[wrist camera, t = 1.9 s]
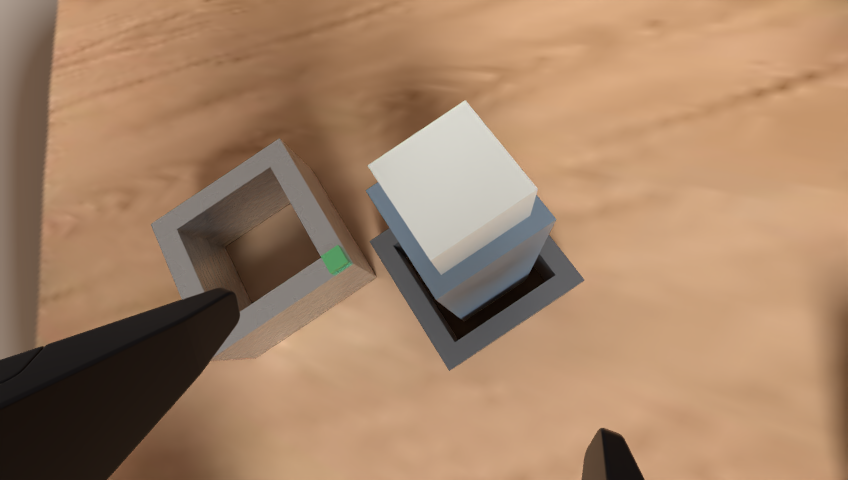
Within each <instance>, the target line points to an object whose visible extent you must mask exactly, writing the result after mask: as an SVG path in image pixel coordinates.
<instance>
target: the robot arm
mask: <svg viewBox="0 0 848 480" xmlns="http://www.w3.org/2000/svg"><path fill="white" fill-rule="evenodd" d="M239 319H240V311H239V306H238V301H237V296H236V294H235V292H233V291H231V290H228V289H225V288H221V287H219V288H215V289H212V290H209V291H206V292H203V293H200V294H197V295H194V296H191V297H188V298H185V299H182V300H179V301H176V302H173V303H170V304H167V305H164V306H161V307H158V308H155V309H152V310H149V311H146V312H143V313H140V314H137V315H134V316H131V317H128V318H125V319H122V320H119V321H116V322H113V323H110V324H107V325H104V326H101V327H98V328H95V329H92V330H89V331H86V332H83V333H80V334H77V335H74V336H71V337H68V338H65V339H62V340H59V341H56V342H53V343H50V344H48V345H46V346H45V347H44V346H41V347H38V348H35V349H32V350H30V351H26V352H24V353H20V354H17V355H14V356H11V357H8V358H5V359H2V360H0V480H107V479H108V478H109V477H110V476H111V475H112V474H113V472H114V471H115V470H116V469H117V468H118V467H119V466H120V464H121V463H122V462H123V461H124V460H125V459H126V458H127V457H128V455H129V454H130V453H131V452H132V451H133V450H134V449H135V448H136V446H137V445H138V444H139V443H140V442H141V441H142V440H143V439H144V437H145V436H146V435H147V434H148V433H149V432H150V431H151V430H152V428H153V427H154V426H155V425H156V424H157V423H158V422H159V420H160V419H161V418H162V417H163V416H164V415H165V414H166V413H167V411H168V410H169V409H170V408H171V407H172V406H173V405H174V404H175V402H176V401H177V400H178V399H179V398H180V397H181V396H182V395H183V393H184V392H185V391H186V390H187V389H188V388H189V387H190V386H191V384H192V383H193V382H194V381H195V380H196V379H197V377H198V376H199V375H200V374H201V373H202V371H203V370H204V369H205V367H206V366H207V365H208V364H209V362H210V361H211V359H212V358H213V357H214V355H215V354H216V353H217V351H218V350H219V348H220V347H221V346H222V344H223V343H224V342H225V340H226V339H227V338H228V336H229V335H230V333H231V332H232V331H233V329H234V328H235V327H236V325H237V324H238V322H239ZM582 480H645V479H644V477H643V475H642V473H641V471H640V469H639V467H638V465H637V463H636V461H635V459H634V457H633V455H632V453H631V451H630V449H629V447H628V445H627V443H626V441H625V439H624V438H623V436H622V435H620V434H619V433H616V432H613V431H611V430H608V429H605V428H600V429H599V430H598V431H597V433H596V435H595V436H594V438H593V440H592V441H591V443H590V445H589V446H588V448H587V450H586V453H585V457H584V464H583V473H582Z"/></svg>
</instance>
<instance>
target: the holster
mask: <svg viewBox="0 0 848 480" xmlns="http://www.w3.org/2000/svg"><path fill="white" fill-rule="evenodd" d="M370 243H371V244H372V246H373V248H374V249H375V251H376V253H377V254H378V256H379V257H380V259H381V261H382V262H383V264H384V266H385V267H386V269H387V270H388V272H389V274H390V275H391V277H392V279H393V280H394V282H395V283H396V285H397V287H398V288H399V290H400V292H401V293H402V295H403V296H404V298H405V300H406V301H407V303H408V305H409V306H410V308H411V309H412V311H413V313H414V314H415V316H416V318H417V319H418V321H419V322H420V324H421V326H422V327H423V329H424V331H425V332H426V334H427V335H428V337H429V339H430V340H431V342H432V344H433V345H434V347H435V348H436V350H437V352H438V353H439V355H440V357H441V358H442V360H443V361H444V363H445V365H446V366H447V368H448V370H449V371H450V370H451V369H453V368H455V367H456V366H458V365H459V364H461V363H462V362H464V361H465V360H467V359H468V358H470V357H471V356H473V355H474V354H476V353H477V352H479V351H480V350H482V349H483V348H485V347H486V346H488V345H489V344H491V343H492V342H494V341H495V340H497V339H498V338H500V337H501V336H503V335H504V334H506V333H507V332H509V331H510V330H512V329H513V328H515V327H516V326H518V325H519V324H521V323H522V322H524V321H525V320H527V319H528V318H530V317H531V316H533V315H534V314H536V313H537V312H539V311H540V310H542V309H543V308H545V307H546V306H548V305H549V304H551V303H552V302H554V301H555V300H557V299H558V298H560V297H561V296H563V295H564V294H565V293H567V292H568V291H570V290H571V289H573V288H574V287H576V286H577V285H579V284H580V283H581V282H583V281H584V279H583V277H582V276H581V275H580V274H579V272H578V271H577V270H576V269H575V267H574V266H573V265H572V263H571V262H570V261H569V260H568V258H567V257H566V256H565V255H564V253H563V252H562V251H561V250H560V248H559V247H558V246H557V245H556V243H555V242H554V241H553V239H552V238H551V237H550V236H549V235H548V237H547V239H546V241H545V243H544V245H543V247H542V249H541V251H540V253H539V255H538V257H537V259H536V261H535V263H534V265H533V266H534V267H535V269H536V270H537V271H538V273H539V274H540V275H541V277H542V278H543V279H544V280H545V282H544V283H543V284H541V285H540V286H538V287H537V288H536V289H534V290H533V291H531V292H530V293H528V294H527V295H525V296H524V297H522V298H521V299H519V300H518V301H516V302H515V303H513V304H512V305H510V306H509V307H507V308H506V309H504V310H503V311H501V312H500V313H498V314H497V315H495V316H494V317H492V318H491V319H489V320H488V321H486V322H485V323H483V324H482V325H480V326H479V327H477V328H476V329H474V330H473V331H471V332H470V333H468V334H467V335H465V336H464V337H462V338H461V339H459V340H458V339H457V337H456V336H455V334H454V333H453V331H452V330H451V328H450V326H449V325H448V323H447V322H446V320H445V319H444V317H443V315H442V314H441V312H440V311H439V309H438V308H437V306H436V304H435V303H434V301H433V300H432V298H431V297H430V295H429V294H428V292H427V290H426V289H425V287H424V286H423V284H422V283H421V281H420V279H419V278H418V276H417V275H416V273H415V272H414V270H413V269H412V267H411V265H410V264H409V262H408V261H407V259H406V257H408V256H407V254H406V253H405V251H404V249H403V248H402V246H401V245H400V243H399V242H398V240H397V239H396V237H395V235H394V234H393V232H392V231H391V229H390V228H389V229H387V230H386V231H384V232H383V233H381V234H380V235H378V236H377V237H375V238H374V239H372V240H371V241H370Z"/></svg>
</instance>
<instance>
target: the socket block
mask: <svg viewBox="0 0 848 480" xmlns="http://www.w3.org/2000/svg"><path fill="white" fill-rule="evenodd" d="M290 203H291V204H292V206H293V208H294V210H295V212H296V213H297V215H298V217H299V219H300V221H301V222H302V224H303V226H304V228H305V229H306V231H307V233H308V235H309V237H310V238H311V240H312V242H313V244H314V245H315V247H316V249H317V251H318V253H319V254H320V256H321V258H320V259H318V260H317V261H315V262H314V263H312V264H311V265H309V266H308V267H306V268H305V269H303V270H302V271H300V272H299V273H297V274H296V275H294V276H293V277H291V278H290V279H288V280H287V281H285V282H284V283H282V284H281V285H279V286H278V287H276V288H275V289H273V290H272V291H270V292H269V293H267V294H266V295H264V296H263V297H261V298H260V299H258V300H257V301H255V302H254V303H251V300H250V298H249V296H248V294H247V292H246V290H245V288H244V286H243V284H242V282H241V279H240V277H239V275H238V273H237V271H236V269H235V267H234V265H233V263H232V261H231V258H230V256H229V254H228V252H227V250H226V248H225V246H227V245H228V244H230V243H231V242H233V241H234V240H236V239H237V238H239V237H240V236H242V235H243V234H245V233H246V232H248V231H249V230H251V229H252V228H254V227H255V226H257V225H258V224H260V223H261V222H263V221H264V220H266V219H267V218H269V217H270V216H272V215H273V214H275V213H276V212H278V211H279V210H281V209H282V208H284V207H285V206H287V205H288V204H290ZM151 226H152V228H153V231H154V233H155V236H156V238H157V240H158V243H159V245H160V248H161V250H162V253H163V255H164V257H165V260H166V262H167V265H168V267H169V269H170V272H171V274H172V277H173V279H174V281H175V284H176V286H177V289H178V291H179V294H180V296H181V298H182V299H185V298H188V297H191V296H194V295H197V294H200V293H203V292H206V291H209V290H212V289H215V288H219V287H221V288H225V289H228V290H231V291H233V292H235V294H236V296H237V301H238V306H239V311H240V319H239V322H238V324H237V325H236V327H235V328H234V329H233V331H232V332H231V333H230V335H229V336H228V338H227V339H226V340H225V342H224V343H223V344H222V346H221V347H220V348H219V350H218V351H217V353H216V354H215V355H214V357H213V358H212V359H211V361H220V360H237V359H254V358H257V357H258V356H260V355H261V354H263V353H264V352H266V351H267V350H269V349H270V348H272V347H273V346H275V345H276V344H278V343H279V342H281V341H282V340H284V339H285V338H287V337H288V336H290V335H291V334H293V333H294V332H296V331H297V330H299V329H300V328H302V327H303V326H304V325H306V324H307V323H309V322H310V321H312V320H313V319H315V318H316V317H318V316H319V315H321V314H322V313H324V312H325V311H327V310H328V309H330V308H331V307H333V306H334V305H336V304H337V303H339V302H340V301H342V300H343V299H345V298H346V297H348V296H349V295H351V294H352V293H354V292H355V291H357V290H358V289H360V288H361V287H363V286H364V285H366V284H367V283H369V282H370V281H372V280H373V279H375V278H376V275H375V273H374V272H373V270H372V268H371V267H370V265H369V264H368V262H367V260H366V259H365V257H364V255H363V254H362V252H361V250H360V249H359V247H358V245H357V244H356V242H355V240H354V239H353V237H352V235H351V234H350V232H349V230H348V229H347V227H346V225H345V224H344V222H343V220H342V219H341V217H340V215H339V214H338V212H337V210H336V209H335V207H334V205H333V204H332V202H331V200H330V199H329V197H328V195H327V194H326V192H325V190H324V189H323V187H322V185H321V184H320V182H319V180H318V179H317V177H316V175H315V174H314V172H313V170H312V169H311V168H310V167H309V166H308V165H307V164H306V163H305V162H304V161H303V160H302V159H301V158H300V157H299V156H298V155H297V154H295V153H294V152H293V151H292V150H291V149H290V148H289V147H288V146H287V145H286V144H285V143H284V142H283V141H282V140H281V139H280V138H279V139H278V140H276V141H275V142H273V143H272V144H270V145H269V146H267V147H266V148H264V149H263V150H261V151H260V152H258V153H257V154H255V155H254V156H252V157H251V158H249V159H248V160H246V161H245V162H243V163H242V164H240V165H239V166H237V167H236V168H234V169H233V170H231V171H230V172H228V173H227V174H225V175H224V176H222V177H221V178H219V179H218V180H216V181H215V182H213V183H212V184H210V185H209V186H207V187H206V188H204V189H203V190H201V191H200V192H198V193H197V194H195V195H194V196H192V197H191V198H189V199H188V200H186V201H185V202H183V203H182V204H180V205H179V206H177V207H176V208H174V209H173V210H171V211H170V212H168V213H167V214H165V215H164V216H162V217H161V218H159V219H158V220H156V221H155V222H153V223H152V224H151Z"/></svg>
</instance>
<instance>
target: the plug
mask: <svg viewBox="0 0 848 480" xmlns="http://www.w3.org/2000/svg"><path fill="white" fill-rule="evenodd" d="M367 166H368V167H369V169H370V170H371V172H372V173H373V175H374V176H375V178H376V179H377V181H378V182H377V183H376V184H374V185H373V186H371V187H370V188H368V189H367V190H366V192H367V193H368V195H369V197H370V198H371V200H372V201H373V203H374V204H375V206H376V207H377V209H378V211H379V212H380V214H381V215H382V217H383V218H384V220H385V221H386V223H387V225H388V226H389V228H390V229H391V231H392V232H393V234H394V235H395V237H396V239H397V240H398V242H399V243H400V245H401V246H402V248H403V249H404V251H405V253H406V254H407V256H408V257H409V259H410V260H411V262H412V263H413V265H414V267H415V268H416V270H417V271H418V273H419V274H420V276H421V277H422V279H423V281H424V282H425V284H426V285H427V287H428V288H429V290H430V291H431V293H432V295H433V296H434V298H435V299H436V300H437V301H438V302H439V303H441V304H442V305H443V306H444V307H446V308H447V309H448V310H450V311H451V312H452V313H454V314H455V315H456V316H457V317H459V318H460V319H461V320H463V321H466V320H467V319H469V318H470V317H472V316H473V315H475V314H476V313H478V312H479V311H481V310H482V309H484V308H485V307H487V306H488V305H490V304H491V303H493V302H494V301H496V300H497V299H499V298H500V297H502V296H503V295H505V294H506V293H508V292H509V291H511V290H512V289H514V288H515V287H517V286H518V285H520V284H521V283H523V282H524V281H526V279H527V277H528V275H529V273H530V271H531V269H532V267H533V265H534V263H535V261H536V259H537V257H538V255H539V253H540V251H541V249H542V247H543V245H544V243H545V241H546V239H547V237H548V235H549V233H550V231H551V229H552V227H553V225H554V223H555V221H556V218H555V217H554V216H553V215H552V213H551V212H550V211H549V210H548V209H547V207H546V206H545V205H544V204H543V202H542V201H541V200H540V199H539V197H538V196H537V195H536V194H537V190H538V189H537V187H536V186H535V185H534V184H533V182H532V181H531V180H530V179H529V178H528V176H527V175H526V174H525V173H524V171H523V170H522V169H521V168H520V167H519V165H518V164H517V163H516V162H515V160H514V159H513V158H512V157H511V155H510V154H509V153H508V152H507V151H506V149H505V148H504V147H503V146H502V144H501V143H500V142H499V141H498V140H497V138H496V137H495V136H494V135H493V133H492V132H491V131H490V130H489V128H488V127H487V126H486V125H485V124H484V122H483V121H482V120H481V119H480V117H479V116H478V115H477V114H476V113H475V111H474V110H473V109H472V108H471V106H470V105H469V104H468V103H467V102H466V100H465V101H463V102H462V103H460V104H459V105H457V106H456V107H454V108H453V109H451V110H450V111H448V112H447V113H445V114H444V115H442V116H441V117H439V118H438V119H436V120H435V121H433V122H432V123H430V124H429V125H427V126H426V127H424V128H423V129H421V130H420V131H418V132H417V133H415V134H414V135H412V136H411V137H409V138H408V139H406V140H405V141H403V142H402V143H400V144H399V145H397V146H396V147H394V148H393V149H391V150H390V151H388V152H387V153H385V154H384V155H382V156H381V157H379V158H378V159H376V160H375V161H373V162H372V163H370V164H369V165H367Z"/></svg>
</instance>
